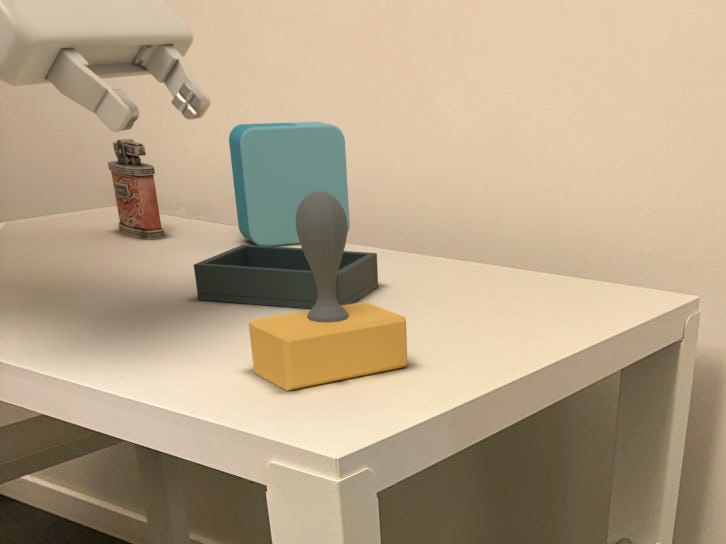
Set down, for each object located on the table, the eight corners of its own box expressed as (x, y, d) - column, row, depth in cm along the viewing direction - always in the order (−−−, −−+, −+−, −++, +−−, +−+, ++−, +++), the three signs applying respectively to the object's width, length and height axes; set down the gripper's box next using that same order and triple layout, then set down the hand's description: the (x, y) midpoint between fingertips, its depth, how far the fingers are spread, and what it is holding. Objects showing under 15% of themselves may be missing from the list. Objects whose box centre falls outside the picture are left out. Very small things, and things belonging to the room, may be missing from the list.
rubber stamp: (369, 349, 77) (360, 181, 70) (409, 367, 73) (404, 191, 66) (252, 371, 72) (231, 192, 65) (289, 392, 68) (271, 203, 61)
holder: (341, 311, 87) (338, 274, 85) (197, 300, 90) (193, 264, 88) (378, 286, 95) (377, 252, 93) (246, 277, 98) (242, 244, 96)
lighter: (113, 230, 118) (96, 137, 113) (139, 227, 120) (124, 136, 115) (144, 240, 113) (128, 143, 108) (171, 236, 115) (157, 141, 110)
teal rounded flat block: (336, 233, 118) (329, 121, 112) (351, 239, 115) (344, 124, 109) (239, 241, 113) (226, 124, 107) (251, 248, 110) (238, 127, 104)
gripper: (76, -12, 73) (215, 138, 76) (-135, -22, 56) (55, 172, 59) (117, -88, 70) (261, 72, 73) (-93, -123, 53) (105, 88, 56)
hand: (167, 117), depth 66 cm, fingers open, 8 cm apart
